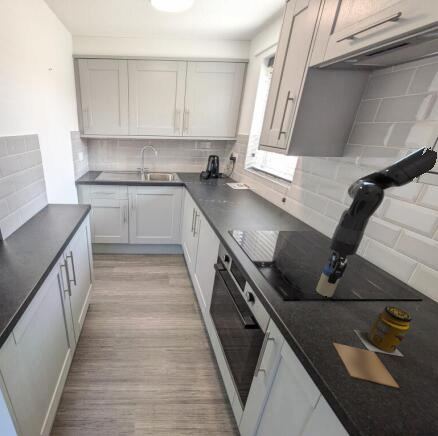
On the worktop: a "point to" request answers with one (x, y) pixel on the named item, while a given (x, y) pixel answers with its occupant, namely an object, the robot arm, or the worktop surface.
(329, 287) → the jar
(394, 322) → the condiment
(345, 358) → the coaster
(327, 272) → the lid
